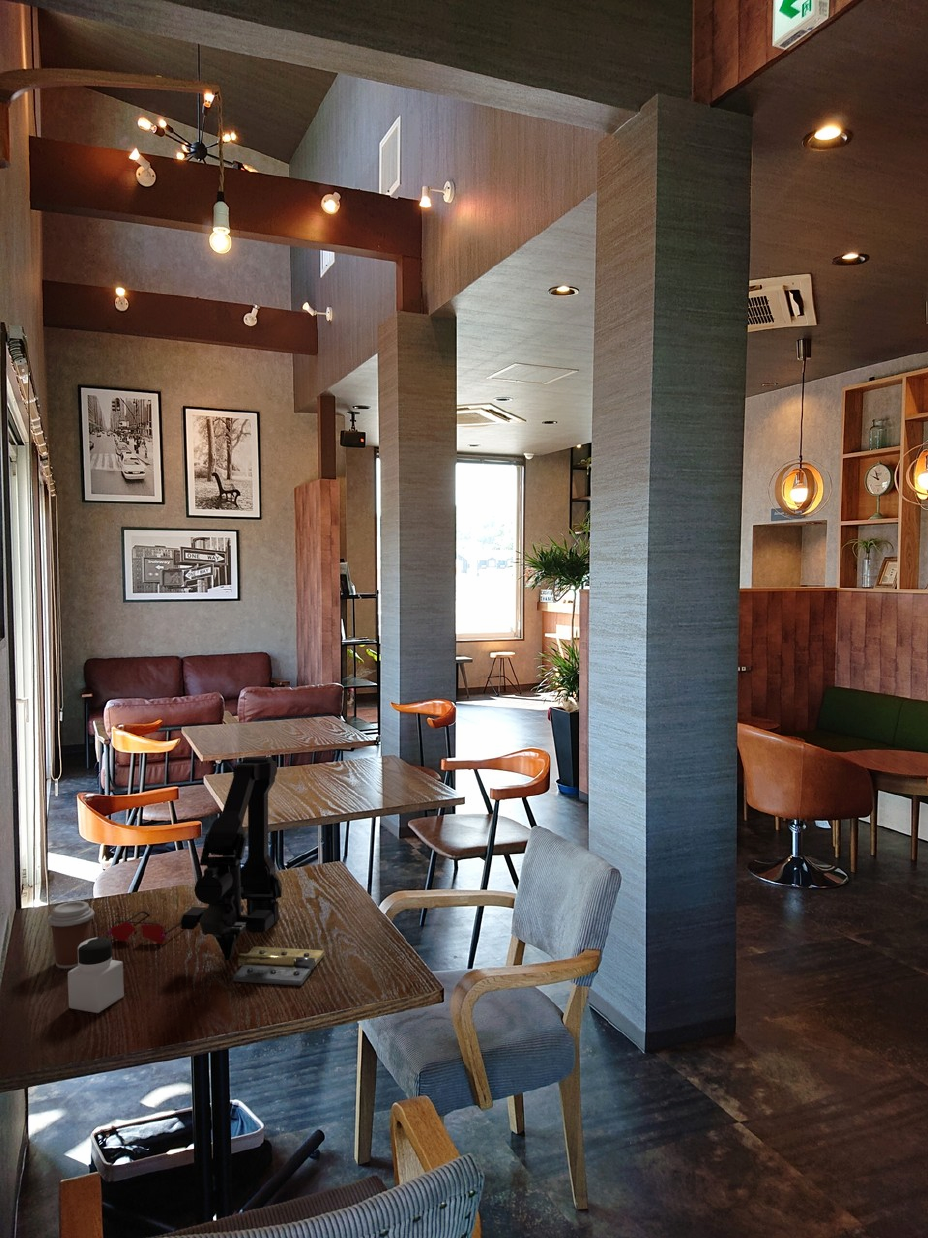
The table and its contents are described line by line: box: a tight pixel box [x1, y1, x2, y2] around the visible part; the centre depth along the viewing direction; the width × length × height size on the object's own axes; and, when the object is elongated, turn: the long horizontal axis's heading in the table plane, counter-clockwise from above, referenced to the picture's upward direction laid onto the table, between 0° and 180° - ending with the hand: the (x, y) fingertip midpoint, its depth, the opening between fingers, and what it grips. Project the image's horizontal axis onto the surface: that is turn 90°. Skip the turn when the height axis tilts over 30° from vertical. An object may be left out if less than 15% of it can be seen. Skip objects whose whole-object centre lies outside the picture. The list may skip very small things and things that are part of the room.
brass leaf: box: [237, 946, 325, 968], centre depth 183 cm, size 16×8×2 cm, turn 80°
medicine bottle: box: [67, 936, 125, 1014], centre depth 166 cm, size 7×7×12 cm
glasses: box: [108, 910, 180, 945], centre depth 201 cm, size 14×16×5 cm
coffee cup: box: [47, 900, 95, 970], centre depth 184 cm, size 9×9×12 cm
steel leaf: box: [232, 957, 315, 987], centre depth 177 cm, size 14×8×2 cm, turn 80°
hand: (228, 959), depth 182 cm, fingers closed
